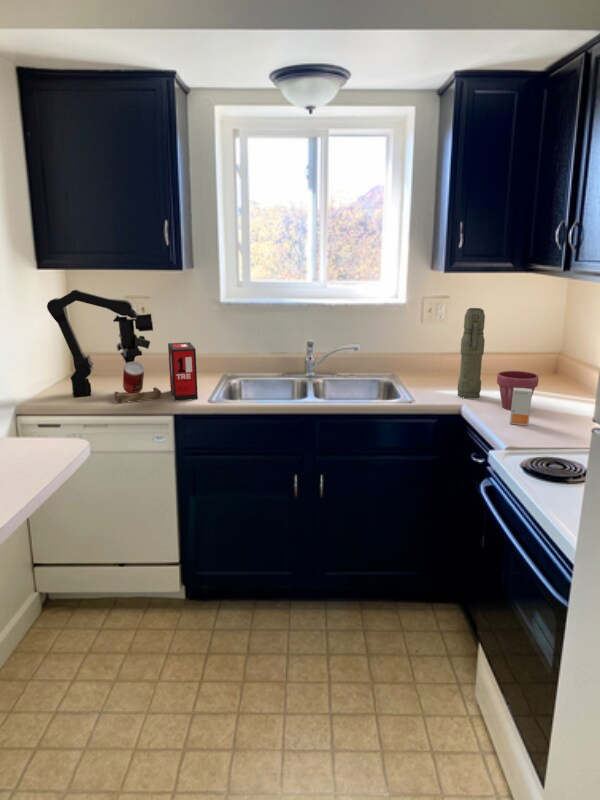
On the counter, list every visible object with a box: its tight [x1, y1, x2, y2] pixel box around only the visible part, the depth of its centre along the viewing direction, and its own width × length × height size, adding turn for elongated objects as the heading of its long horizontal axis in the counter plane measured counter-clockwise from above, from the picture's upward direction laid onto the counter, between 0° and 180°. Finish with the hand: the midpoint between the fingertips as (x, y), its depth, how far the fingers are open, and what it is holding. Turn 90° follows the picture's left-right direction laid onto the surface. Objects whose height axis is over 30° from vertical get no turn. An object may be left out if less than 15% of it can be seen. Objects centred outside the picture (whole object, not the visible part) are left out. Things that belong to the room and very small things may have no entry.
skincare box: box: [509, 388, 533, 427], centre depth 195 cm, size 6×4×12 cm
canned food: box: [122, 361, 145, 394], centre depth 233 cm, size 8×8×11 cm
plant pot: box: [496, 370, 539, 411], centre depth 214 cm, size 14×14×13 cm
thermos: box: [457, 307, 486, 399], centre depth 228 cm, size 9×12×35 cm
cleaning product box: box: [167, 342, 199, 402], centre depth 231 cm, size 16×9×20 cm, turn 18°
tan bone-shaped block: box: [114, 387, 162, 404], centre depth 227 cm, size 16×7×3 cm, turn 117°
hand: (131, 370), depth 236 cm, fingers closed
